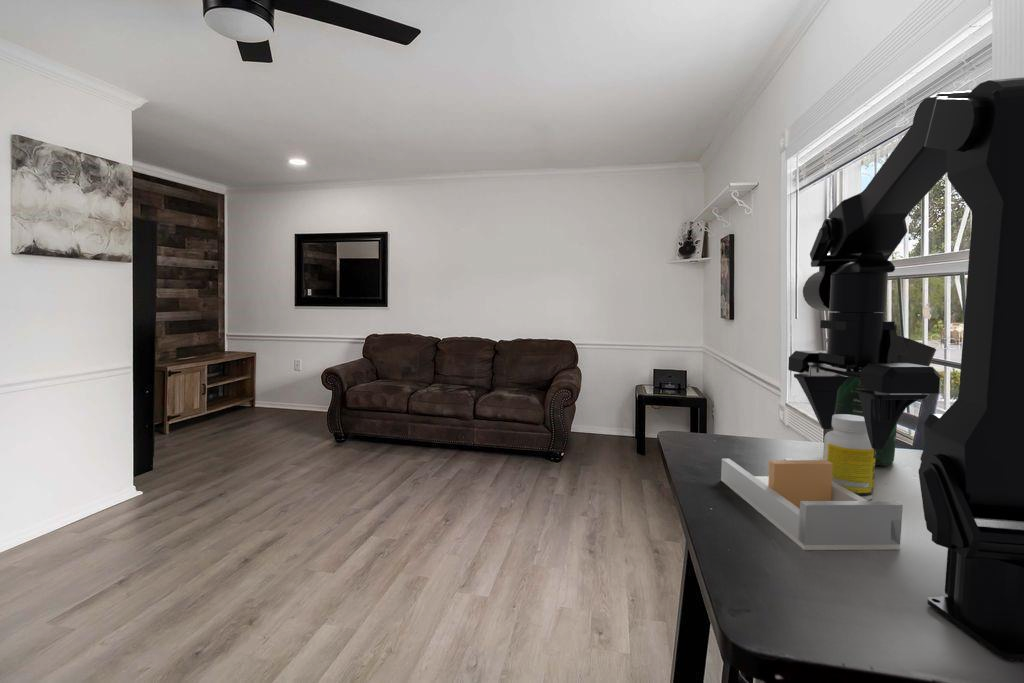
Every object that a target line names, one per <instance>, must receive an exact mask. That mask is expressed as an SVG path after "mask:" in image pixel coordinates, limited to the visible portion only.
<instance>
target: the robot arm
mask: <svg viewBox="0 0 1024 683" xmlns="http://www.w3.org/2000/svg"><path fill="white" fill-rule="evenodd" d="M912 119H913V120H912V125H911V126H910V127H909V128H908V129H907V131H906V133H905V134H904V136H903V137H902V138H901V139H900V141H899V142H898V143H897V145H896V146H895V147H894V149H893V151H892V152H891V153H890V155H889V156H888V157H887V158H886V160H885V161H884V162H883V164H882V165H881V166H880V168H879V169H878V171H877V173H875V175H874V176H873V177H872V179H871V180H870V182H869V183H868V184H867V185H866V187H865V188H864V189H863V190H862V191H861V192H859V193H857V194H855V195H852V196H850V197H848V198H846V199H843V200H842V201H840V203H839V204H838V205H837V206H836V207H834V209H833V210H832V211H831V212H830V213H829V214H828V217H826V218H825V219H824V221H823V223H822V225H821V227H820V228H819V230H818V233H817V234H816V238H815V240H814V243H813V245H812V248H811V250H810V252H809V257H810V260H811V261H810V266H811V267H812V268H816V267H817V268H818V269H819V270H818V271H817V272H814V273H813V274H811V275H810V276H809V277H808V278H807V280H806V281H805V283H804V285H803V287H802V296H803V299H804V301H805V302H806V304H807V305H808V306H809V307H811V308H812V309H814V310H816V311H817V310H818V311H823V312H824V311H825V312H828V319H821V320H820V323H819V324H820V326H819V328H820V329H826V330H827V346H826V348H827V349H826V350H795V351H793V353H791V355H790V356H788V371H790V372H795V373H794V374H793V378H794V379H796V380H797V381H798V383H799V385H800V387H801V389H802V391H803V393H804V394H805V397H806V399H807V400H808V402H809V404H810V406H811V408H812V410H813V413H814V414H815V417H816V419H817V421H818V423H819V426H820V427H821V429H823V430H831V429H832V428H833V427H832V416H833V415H835V406H836V399H837V392H838V389H839V387H840V386H841V385H842V384H843V383H844V382H845V381H846V380H847V379H848V376H852V377H856V378H860V382H861V383H862V385H863V387H864V389H868V390H858V393H859V397H860V402H861V406H862V410H863V415H864V420H865V424H866V429H867V433H868V437H869V440H870V444H871V447H872V448H873V449H875V450H881V449H883V448H884V447H885V445H886V443H887V441H888V439H889V437H890V435H891V433H892V431H893V429H894V427H895V425H896V423H897V424H898V421H899V419H900V418H901V416H902V415H903V413H904V412H905V410H906V409H907V408H908V407H909V406H911V405H913V403H915V402H917V401H918V400H927V398H928V397H929V396H930V394H940V392H941V391H940V390H941V377H942V376H941V374H940V372H938V370H936V368H935V367H934V366H931V363H932V361H933V358H934V356H935V354H936V351H937V349H936V348H935V347H933V346H931V345H928V344H926V343H925V344H924V343H921V342H919V341H916V340H913V339H911V338H907V337H904V336H902V335H898V334H897V333H898V332H897V329H898V328H897V324H895V320H894V321H892V320H891V321H890V320H886V317H887V313H886V312H887V302H888V300H887V298H888V297H887V296H888V281H889V274H890V273H894V272H895V270H896V266H895V265H894V263H893V262H892V261H890V260H889V259H890V257H892V255H893V253H894V252H895V251H896V250H897V248H898V247H899V245H900V243H901V242H902V240H903V239H904V237H905V236H906V235H907V233H908V226H907V221H906V218H907V217H908V216H909V214H910V212H912V210H913V209H914V208H915V207H916V206H917V205H918V204H919V203H920V202H921V201H922V200H923V199H924V198H925V197H926V195H928V193H929V192H930V191H931V190H932V189H933V188H934V187H935V186H936V185H937V183H938V182H940V181H941V179H942V178H943V177H944V176H945V175H947V176H946V177H947V179H948V180H947V181H949V183H950V184H951V185H952V187H953V189H955V190H956V193H958V194H959V196H960V197H961V199H962V201H963V202H965V204H966V205H967V207H968V208H969V209H970V211H971V225H970V226H971V227H970V229H971V230H970V240H969V253H968V266H967V278H966V292H965V306H964V307H965V308H964V322H963V333H962V345H961V346H962V347H961V361H960V371H959V372H960V373H959V383H958V385H959V386H958V387H959V388H958V393H957V394H958V395H957V398H956V400H955V401H954V402H953V403H952V404H951V406H949V407H948V409H947V410H946V411H945V412H944V413H930V414H929V415H928V417H927V418H926V420H924V423H923V430H924V431H923V432H924V435H923V436H924V439H923V440H924V441H923V449H922V453H921V456H920V465H919V468H918V478H919V485H920V492H921V494H920V495H921V502H922V509H923V517H924V521H925V526H926V530H927V531H928V532H929V533H931V541H932V542H933V543H934V544H935V545H937V546H940V547H944V548H946V549H947V555H946V567H945V568H946V569H945V570H946V571H945V581H944V582H945V583H944V593H945V595H947V596H929V597H927V605H928V606H929V607H931V609H932V608H933V610H935V611H936V612H937V613H939V614H940V615H942V616H943V617H944V618H946V619H948V620H949V621H950V622H951V623H953V624H954V625H956V626H957V627H959V628H960V629H962V630H963V631H964V632H965V633H967V634H968V635H970V636H971V637H972V638H974V639H975V640H976V641H978V642H980V643H981V644H982V645H984V646H985V647H986V648H988V649H989V650H990V651H991V652H993V653H994V654H995V655H997V656H999V657H1001V658H1003V659H1005V660H1009V659H1014V660H1013V661H1016V660H1015V659H1024V528H1023V529H1022V528H1011V527H1009V528H1008V527H1001V526H997V527H996V526H986V525H985V526H984V525H978V524H977V521H976V520H983V521H999V522H1009V523H1024V77H1023V76H1021V77H1014V78H1013V77H1012V78H1011V77H1010V78H1001V79H1000V78H999V79H989V80H986V81H983V82H981V83H979V84H978V85H976V86H975V87H974V88H973V89H971V90H961V91H959V90H958V91H948V92H947V91H946V92H938V93H936V94H934V95H932V96H928V97H925V98H924V99H923V100H922V101H921V102H920V103H919V105H918V106H917V109H915V112H914V116H913V118H912ZM860 370H861V371H860ZM837 373H838V374H837ZM839 374H842V375H839ZM843 375H847V376H843Z"/></svg>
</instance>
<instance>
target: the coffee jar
mask: <svg viewBox="0 0 1024 683" xmlns="http://www.w3.org/2000/svg"><path fill="white" fill-rule="evenodd" d="M860 371H861V370H860ZM836 374H838V373H836ZM839 375H842V374H839ZM843 376H847V375H843ZM858 390H868V389H864V387H863V385H862V383H861V382H860V378H856V377H852V376H848V379H847V380H846V381H845V382H844V383H843V384H842V385H841V386H840V387H839V389H838V392H837V399H836V406H835V413H834V415H835V414H849V415H857V416H862V417H864V415H863V410H862V406H861V402H860V397H859V393H858ZM897 426H898V422H897V423H896V425H895V427H894V429H893V431H892V433H891V435H890V437H889V439H888V441H887V443H886V445H885V447H884V448H883V449H881V450H876V456H875V466H883V467H888V466H891V465H892V464H893V462H894V460H895V456H896V454H895V453H896V444H897Z"/></svg>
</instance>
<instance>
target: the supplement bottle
mask: <svg viewBox="0 0 1024 683" xmlns="http://www.w3.org/2000/svg"><path fill="white" fill-rule="evenodd" d="M832 428H833V429H832V430H830V431H827V433H825V435H824V437H823V438H824V439H823V453H822V454H823V455H822V460H827V461H829V462H831V463H833V469H832V481H833V482H835V483H837V484H838V485H840V486H842V487H844V488H846V489H847V490H849V491H851V492H853V493H855V494H856V495H858V496H860V497H862V498H864V499H865V500H867V501H871V500H872V499H873V497H874V488H875V486H874V485H875V471H876V470H875V469H876V465H875V456H876V450H875V449H873V448H872V447H871V444H870V440H869V437H868V433H867V429H866V424H865V420H864V417H862V416H857V415H849V414H835V413H834V415H833V416H832Z"/></svg>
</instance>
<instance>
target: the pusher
mask: <svg viewBox="0 0 1024 683" xmlns="http://www.w3.org/2000/svg"><path fill="white" fill-rule="evenodd" d="M832 469H833V463H831V462H829V461H827V460H823V459H813V460H812V459H810V460H808V459H806V460H804V459H801V460H800V459H798V460H797V459H796V460H795V459H793V460H784V459H783V460H782V459H781V460H777V459H776V460H773V459H772V460H769V461H768V476H769V481H768V487H770V488H771V489H773V490H774V491H775V492H777V493H778V494H780V495H781V496H782V497H784V498H785V499H787V500H788V501H789V502H791V503H792V504H794V505H795V506H800V501H831V489H832Z"/></svg>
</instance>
